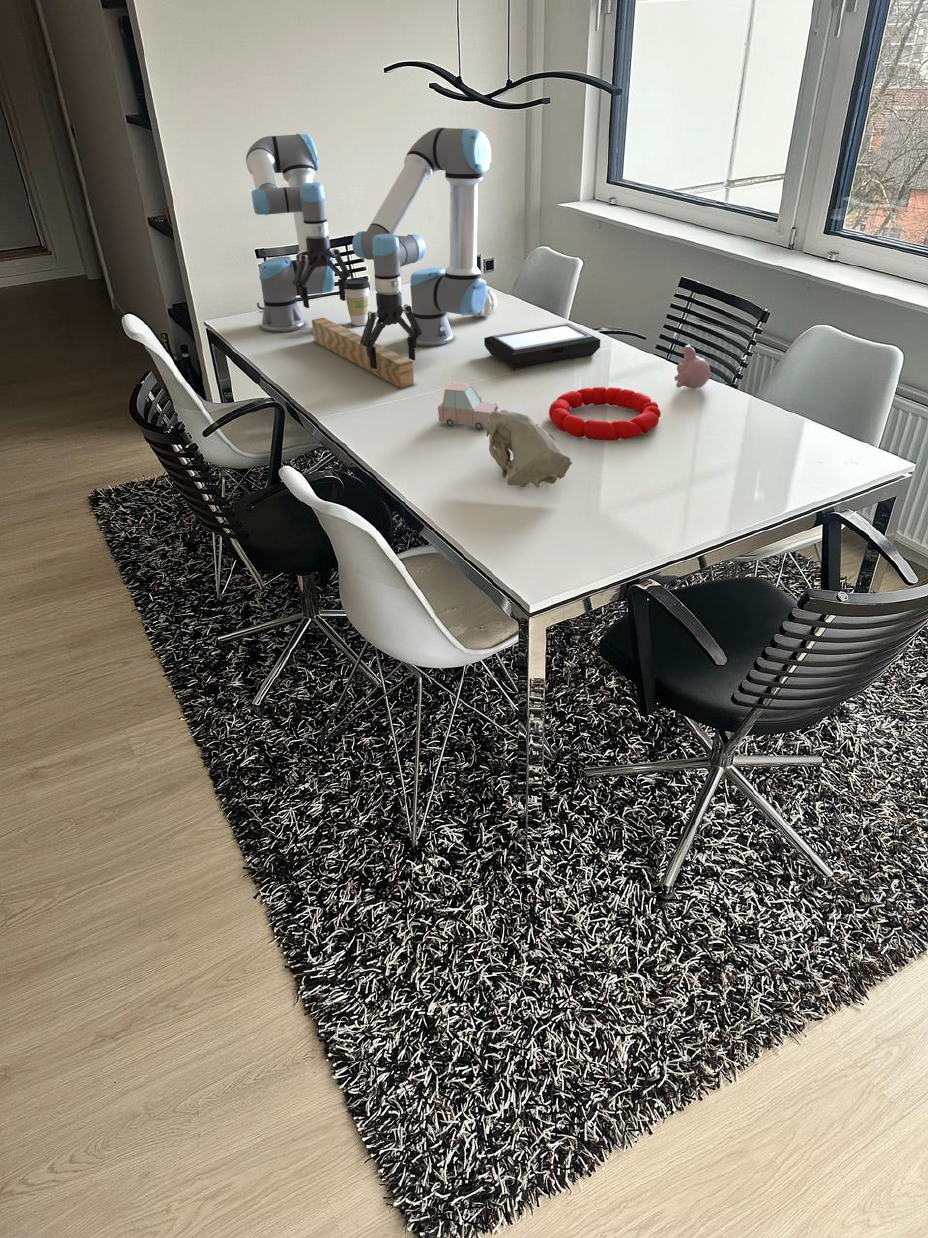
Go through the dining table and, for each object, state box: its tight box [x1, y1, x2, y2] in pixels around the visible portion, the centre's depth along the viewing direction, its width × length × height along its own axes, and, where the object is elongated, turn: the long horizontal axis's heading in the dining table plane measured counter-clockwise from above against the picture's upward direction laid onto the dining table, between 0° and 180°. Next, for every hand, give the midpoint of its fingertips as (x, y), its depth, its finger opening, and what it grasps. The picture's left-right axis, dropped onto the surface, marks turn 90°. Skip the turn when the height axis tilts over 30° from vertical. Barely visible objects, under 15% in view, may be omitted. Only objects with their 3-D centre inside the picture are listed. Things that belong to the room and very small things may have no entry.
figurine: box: [674, 344, 711, 390], centre depth 259 cm, size 9×11×12 cm
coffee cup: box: [345, 277, 371, 327], centre depth 323 cm, size 10×10×15 cm
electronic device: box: [483, 322, 601, 371], centre depth 289 cm, size 32×6×20 cm
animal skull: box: [485, 409, 573, 489], centre depth 216 cm, size 17×25×20 cm
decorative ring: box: [548, 386, 661, 442], centre depth 242 cm, size 7×30×30 cm
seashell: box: [472, 289, 498, 318], centre depth 327 cm, size 10×15×10 cm
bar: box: [311, 317, 415, 389], centre depth 290 cm, size 59×4×7 cm, turn 34°
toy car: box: [437, 382, 499, 431], centre depth 243 cm, size 9×15×10 cm, turn 70°
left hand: (324, 303), depth 299 cm, fingers open, 13 cm apart
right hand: (393, 363), depth 273 cm, fingers open, 13 cm apart
